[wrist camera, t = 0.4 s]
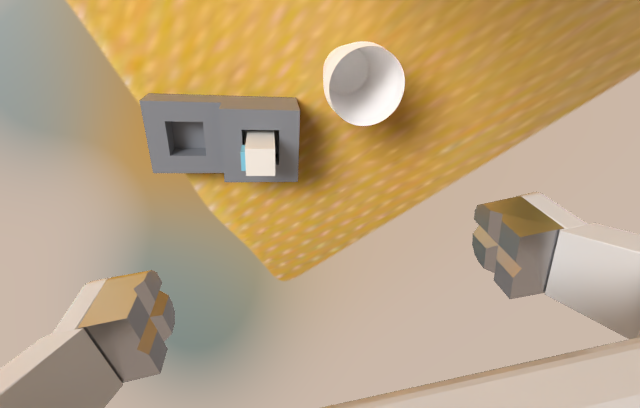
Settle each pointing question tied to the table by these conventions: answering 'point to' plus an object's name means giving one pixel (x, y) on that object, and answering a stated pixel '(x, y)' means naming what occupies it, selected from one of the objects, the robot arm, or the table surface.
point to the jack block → (219, 133)
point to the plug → (258, 153)
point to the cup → (363, 82)
